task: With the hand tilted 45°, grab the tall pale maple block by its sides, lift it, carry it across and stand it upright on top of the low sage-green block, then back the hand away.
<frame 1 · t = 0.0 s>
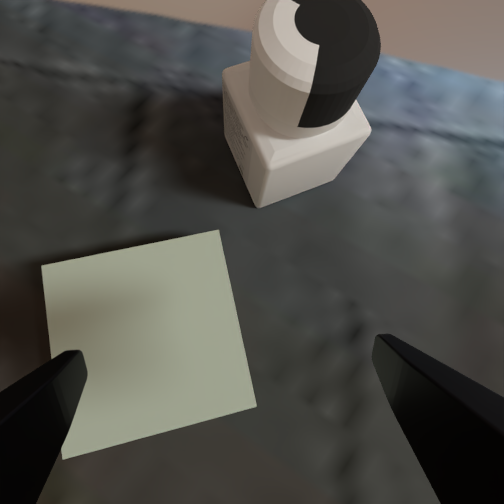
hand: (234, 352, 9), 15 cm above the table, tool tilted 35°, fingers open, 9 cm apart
sage base block: (161, 330, 23), on the table
container: (278, 159, 27), on the table
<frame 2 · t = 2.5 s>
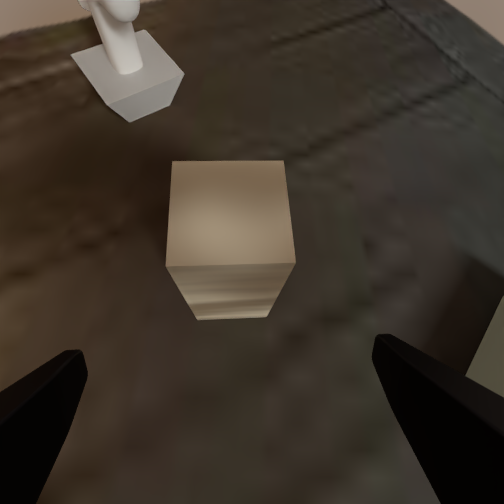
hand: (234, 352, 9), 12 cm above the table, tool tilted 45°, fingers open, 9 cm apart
figurine: (140, 101, 30), on the table
maple block: (231, 285, 22), on the table
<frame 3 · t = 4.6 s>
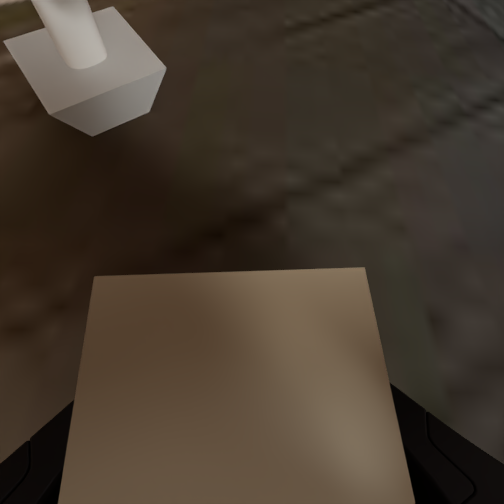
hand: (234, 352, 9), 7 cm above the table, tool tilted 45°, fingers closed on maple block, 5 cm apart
figurine: (109, 107, 22), on the table
maple block: (234, 392, 15), on the table, touching gripper
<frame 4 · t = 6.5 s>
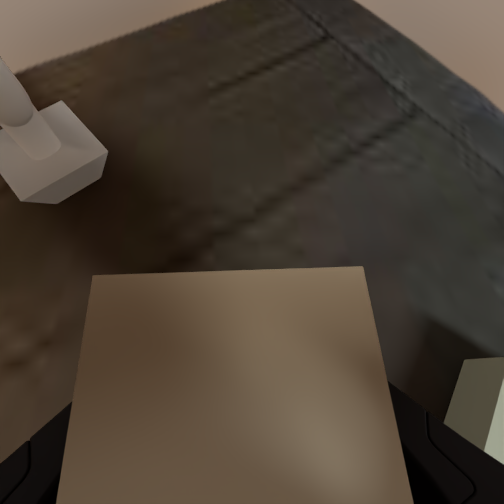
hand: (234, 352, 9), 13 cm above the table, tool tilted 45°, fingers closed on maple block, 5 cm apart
figurine: (67, 176, 27), on the table
maple block: (234, 391, 15), point 7 cm above the table, touching gripper
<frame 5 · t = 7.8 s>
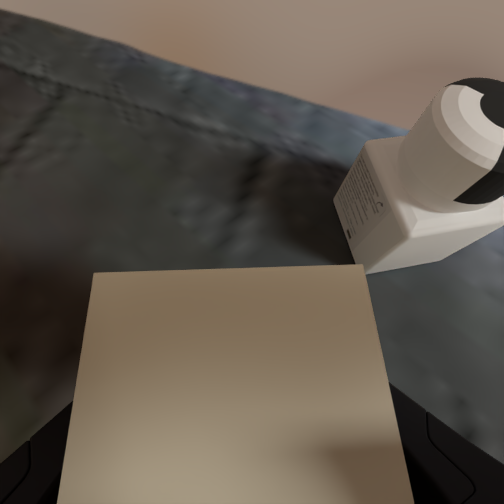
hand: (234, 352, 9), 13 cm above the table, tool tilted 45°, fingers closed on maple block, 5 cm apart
maple block: (234, 390, 15), point 7 cm above the table, touching gripper
container: (382, 230, 27), on the table
when the fingers open (12 cm above the table, at t = 8.7 s): maple block drops 1 cm, resting on sage base block.
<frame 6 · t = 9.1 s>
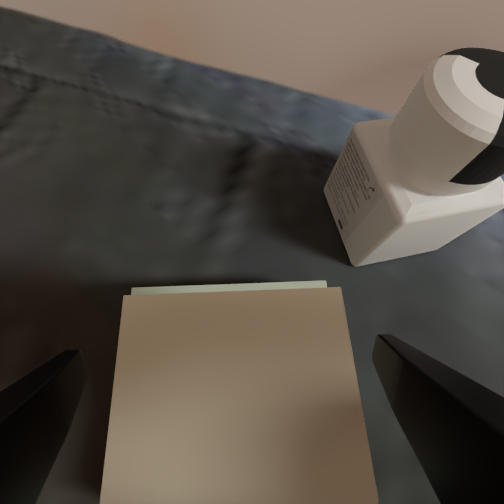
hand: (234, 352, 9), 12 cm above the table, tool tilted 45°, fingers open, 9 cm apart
sage base block: (234, 388, 20), on the table
maple block: (235, 390, 16), point 4 cm above the table, touching sage base block
container: (376, 220, 26), on the table
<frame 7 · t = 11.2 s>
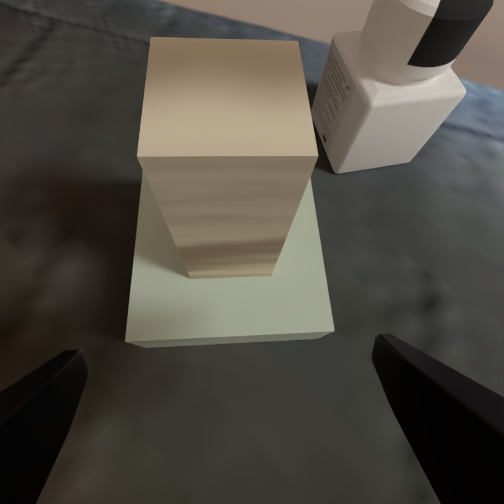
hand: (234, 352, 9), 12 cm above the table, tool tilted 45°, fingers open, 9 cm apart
sage base block: (230, 262, 23), on the table
maple block: (230, 240, 19), point 4 cm above the table, touching sage base block
container: (357, 139, 29), on the table
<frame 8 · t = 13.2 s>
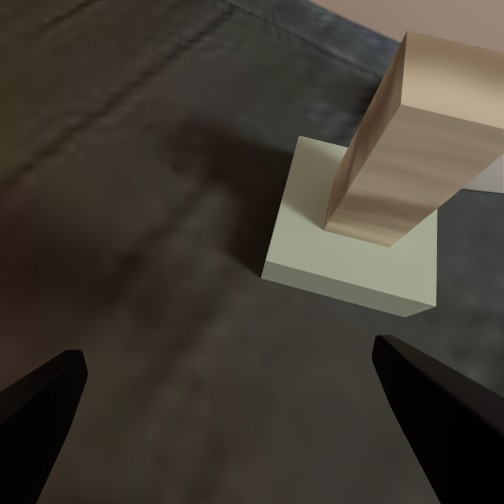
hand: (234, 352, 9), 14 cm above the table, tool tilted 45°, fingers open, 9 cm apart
sage base block: (341, 234, 26), on the table
maple block: (360, 210, 23), point 4 cm above the table, touching sage base block
container: (476, 163, 31), on the table
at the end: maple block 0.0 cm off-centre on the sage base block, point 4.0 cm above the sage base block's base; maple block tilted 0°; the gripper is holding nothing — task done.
